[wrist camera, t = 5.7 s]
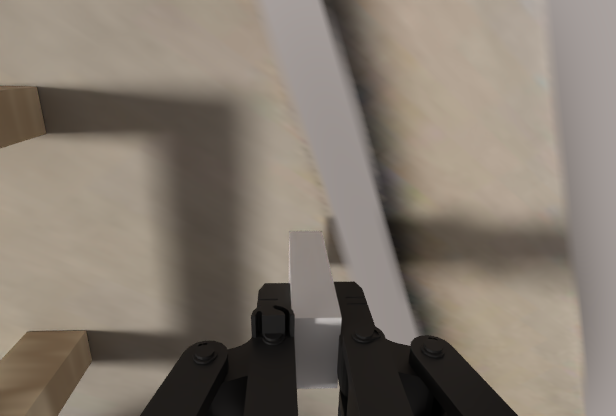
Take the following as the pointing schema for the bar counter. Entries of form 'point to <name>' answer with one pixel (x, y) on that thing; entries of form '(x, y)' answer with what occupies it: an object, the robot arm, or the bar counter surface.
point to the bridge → (45, 344)
